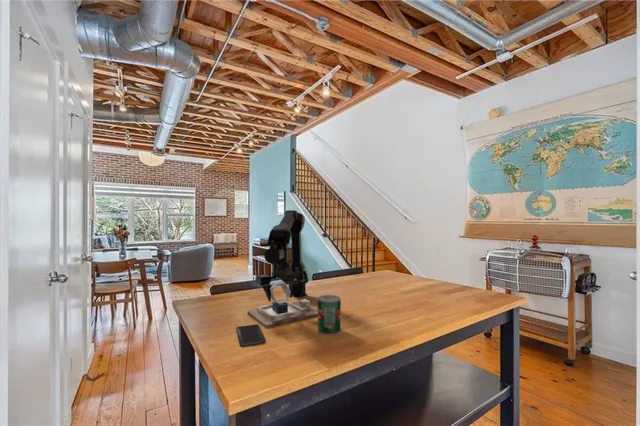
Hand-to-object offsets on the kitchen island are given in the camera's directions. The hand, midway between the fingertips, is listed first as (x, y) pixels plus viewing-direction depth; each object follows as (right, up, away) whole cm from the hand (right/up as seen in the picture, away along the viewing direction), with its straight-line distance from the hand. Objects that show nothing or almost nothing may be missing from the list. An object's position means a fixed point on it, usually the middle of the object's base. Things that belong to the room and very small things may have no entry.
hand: (280, 299), depth 118 cm
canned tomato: (+19, -6, -15) cm, 25 cm away
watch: (0, -5, 0) cm, 5 cm away
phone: (-7, -7, -19) cm, 22 cm away
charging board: (+2, -6, +1) cm, 7 cm away
